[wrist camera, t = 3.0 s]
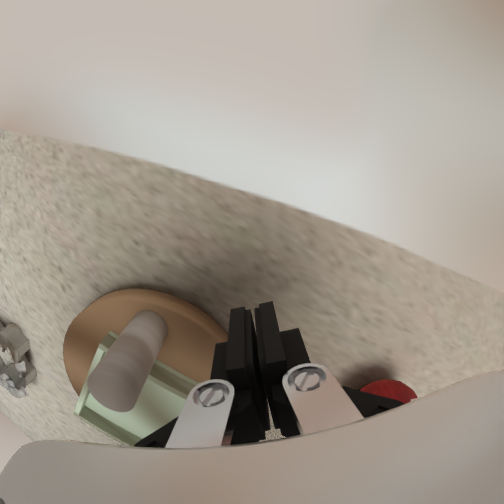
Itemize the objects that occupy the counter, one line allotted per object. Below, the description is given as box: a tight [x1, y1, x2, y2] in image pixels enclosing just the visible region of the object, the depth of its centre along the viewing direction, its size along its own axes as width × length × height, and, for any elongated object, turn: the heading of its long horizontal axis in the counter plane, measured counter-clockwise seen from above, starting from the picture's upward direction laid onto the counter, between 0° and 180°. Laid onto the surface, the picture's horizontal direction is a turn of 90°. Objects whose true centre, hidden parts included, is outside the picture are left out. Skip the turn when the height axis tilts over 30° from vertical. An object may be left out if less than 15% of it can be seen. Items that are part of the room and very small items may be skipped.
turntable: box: [63, 288, 228, 446], centre depth 14 cm, size 13×13×8 cm
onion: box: [360, 379, 417, 404], centre depth 17 cm, size 6×6×8 cm
